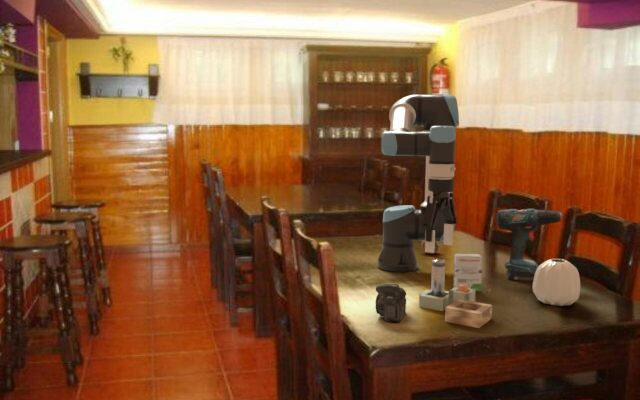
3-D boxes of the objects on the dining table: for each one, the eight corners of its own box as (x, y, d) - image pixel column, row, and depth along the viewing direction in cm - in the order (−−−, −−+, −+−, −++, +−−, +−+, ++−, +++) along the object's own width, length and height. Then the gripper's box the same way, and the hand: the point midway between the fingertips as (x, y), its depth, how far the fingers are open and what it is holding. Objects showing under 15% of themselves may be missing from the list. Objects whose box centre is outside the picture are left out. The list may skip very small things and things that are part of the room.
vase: (575, 312, 188) (577, 267, 187) (527, 304, 196) (529, 261, 194) (583, 300, 200) (586, 258, 198) (538, 293, 207) (540, 253, 206)
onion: (442, 252, 268) (443, 233, 266) (435, 256, 261) (435, 237, 260) (425, 250, 272) (426, 232, 270) (418, 253, 265) (418, 235, 264)
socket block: (416, 306, 193) (416, 287, 192) (429, 298, 201) (429, 280, 200) (465, 315, 184) (465, 295, 184) (476, 307, 192) (477, 288, 191)
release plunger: (456, 302, 189) (456, 285, 188) (459, 300, 191) (460, 283, 191) (465, 303, 188) (465, 287, 187) (468, 301, 190) (469, 285, 189)
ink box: (478, 287, 214) (480, 253, 212) (481, 291, 209) (483, 256, 208) (452, 287, 214) (454, 252, 213) (455, 291, 210) (456, 256, 208)
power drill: (563, 282, 221) (567, 211, 217) (494, 279, 225) (497, 209, 222) (559, 276, 229) (563, 207, 226) (493, 273, 234) (496, 205, 230)
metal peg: (428, 305, 194) (429, 260, 192) (433, 302, 197) (435, 258, 195) (440, 308, 191) (442, 262, 190) (446, 304, 195) (447, 259, 193)
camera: (371, 309, 189) (371, 277, 188) (404, 309, 190) (405, 276, 189) (377, 324, 176) (378, 289, 175) (413, 324, 177) (414, 289, 175)
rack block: (444, 321, 179) (445, 307, 179) (458, 312, 187) (458, 299, 187) (479, 328, 174) (479, 314, 173) (491, 318, 182) (492, 304, 181)
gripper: (435, 182, 177) (433, 257, 179) (468, 175, 197) (466, 243, 200) (411, 180, 181) (409, 253, 183) (446, 174, 201) (444, 240, 204)
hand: (439, 248), depth 192 cm, fingers open, 13 cm apart
